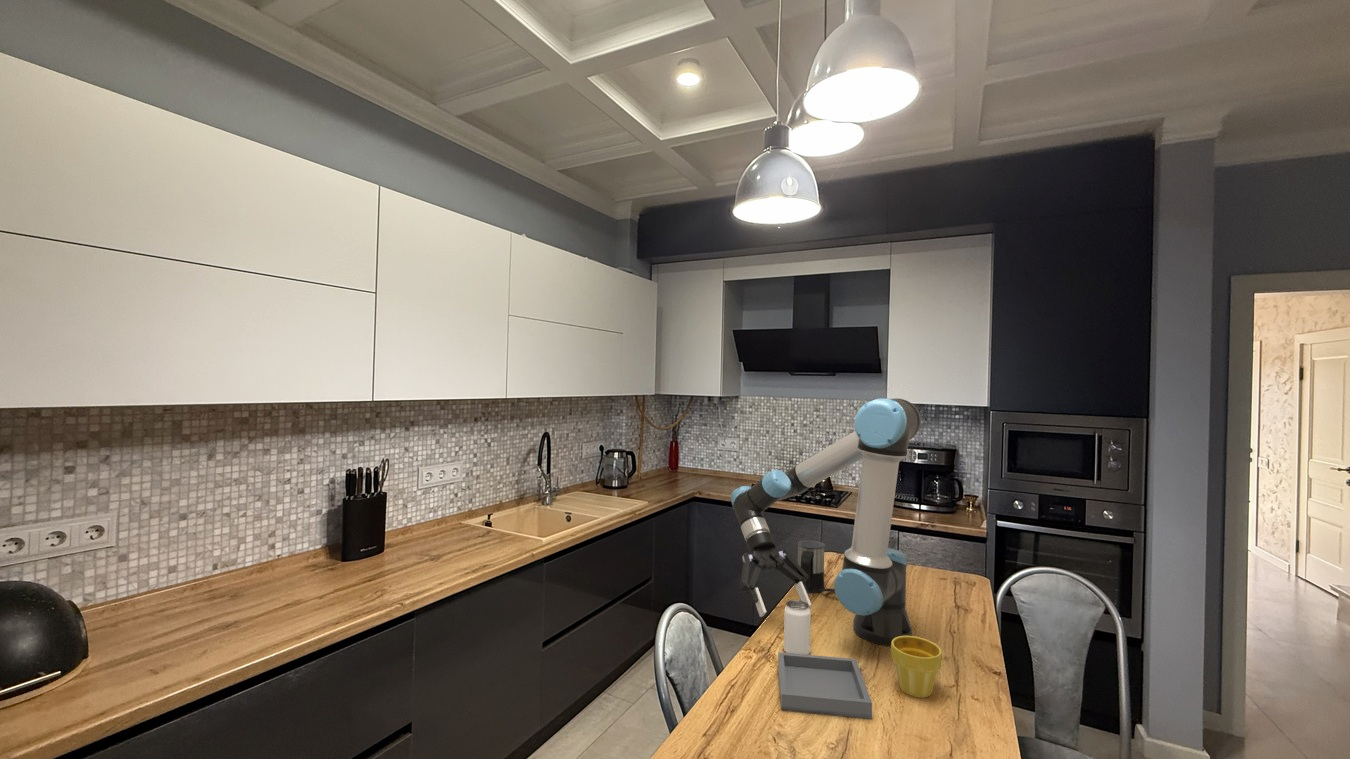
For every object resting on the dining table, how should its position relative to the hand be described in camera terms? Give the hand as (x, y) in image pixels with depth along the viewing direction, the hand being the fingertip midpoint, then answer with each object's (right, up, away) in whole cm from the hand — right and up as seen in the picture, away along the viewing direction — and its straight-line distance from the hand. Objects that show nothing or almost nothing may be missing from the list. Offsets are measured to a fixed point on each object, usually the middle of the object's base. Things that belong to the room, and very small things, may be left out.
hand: (786, 611), depth 142 cm
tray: (+3, -9, -21) cm, 23 cm away
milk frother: (+19, -10, +38) cm, 43 cm away
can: (+2, -9, -4) cm, 10 cm away
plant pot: (+25, -9, -20) cm, 33 cm away
